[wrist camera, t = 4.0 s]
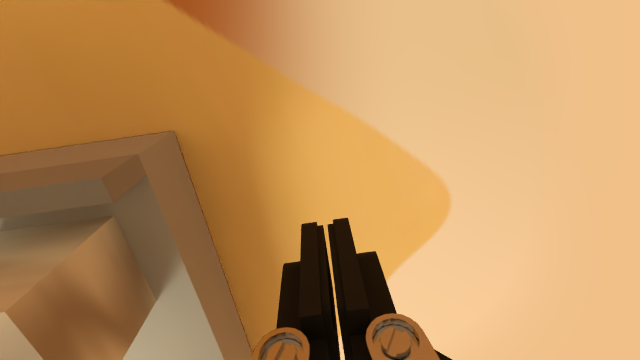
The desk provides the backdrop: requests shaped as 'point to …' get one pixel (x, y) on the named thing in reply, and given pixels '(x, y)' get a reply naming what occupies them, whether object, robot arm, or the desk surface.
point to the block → (70, 292)
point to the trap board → (137, 234)
